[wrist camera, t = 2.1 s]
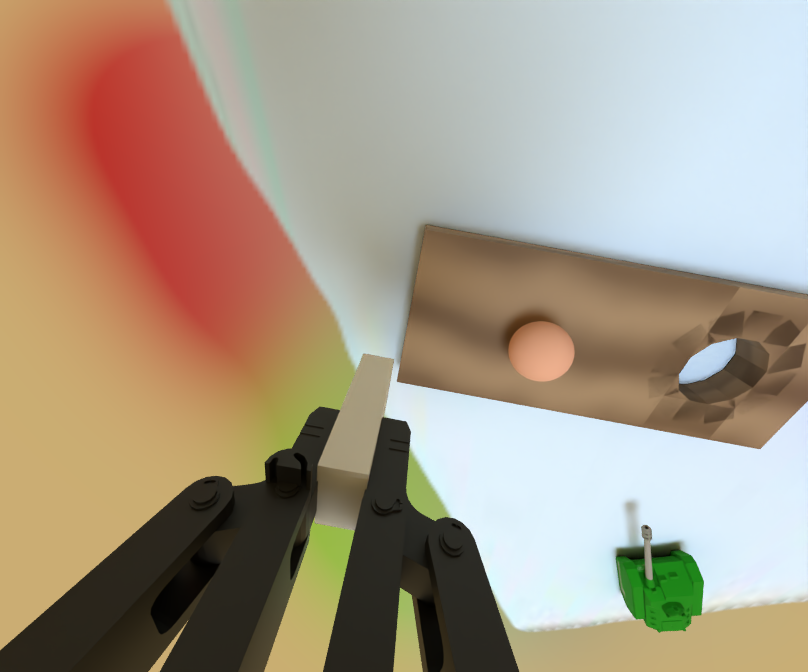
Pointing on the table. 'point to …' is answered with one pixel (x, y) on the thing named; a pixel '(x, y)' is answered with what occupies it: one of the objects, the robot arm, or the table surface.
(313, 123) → the table surface
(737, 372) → the walnut board
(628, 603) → the toy tank
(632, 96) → the table surface
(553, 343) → the coral ball
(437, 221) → the table surface
